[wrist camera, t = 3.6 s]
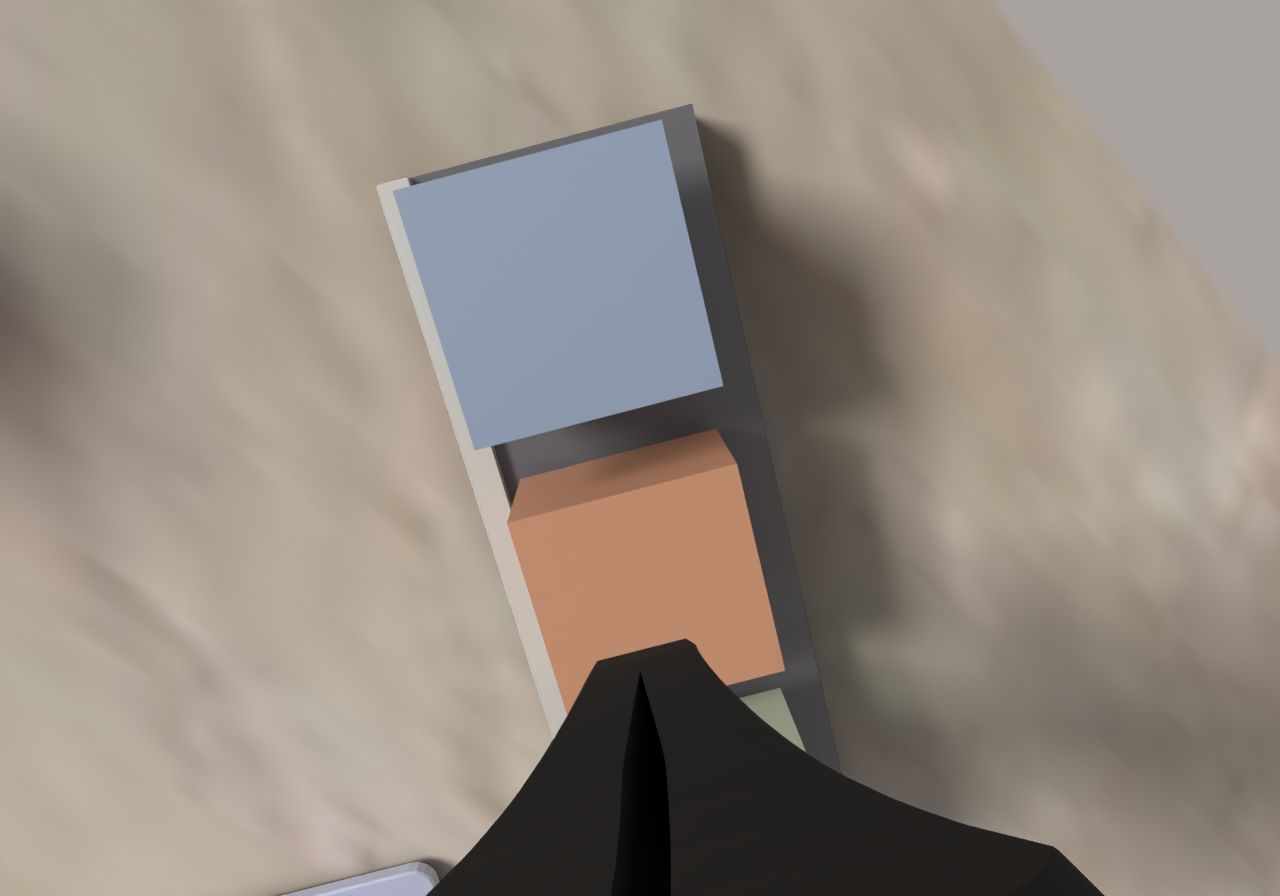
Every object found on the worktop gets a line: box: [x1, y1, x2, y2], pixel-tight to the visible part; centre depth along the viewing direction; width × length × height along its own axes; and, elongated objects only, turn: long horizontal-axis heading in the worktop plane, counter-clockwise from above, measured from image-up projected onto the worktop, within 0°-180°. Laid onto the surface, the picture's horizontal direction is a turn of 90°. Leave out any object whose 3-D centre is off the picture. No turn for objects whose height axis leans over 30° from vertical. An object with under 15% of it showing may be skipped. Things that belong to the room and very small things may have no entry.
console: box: [376, 104, 841, 774], centre depth 18 cm, size 16×6×2 cm, turn 14°
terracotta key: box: [507, 429, 785, 715], centre depth 16 cm, size 4×4×3 cm
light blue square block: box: [393, 120, 723, 450], centre depth 14 cm, size 4×4×3 cm
